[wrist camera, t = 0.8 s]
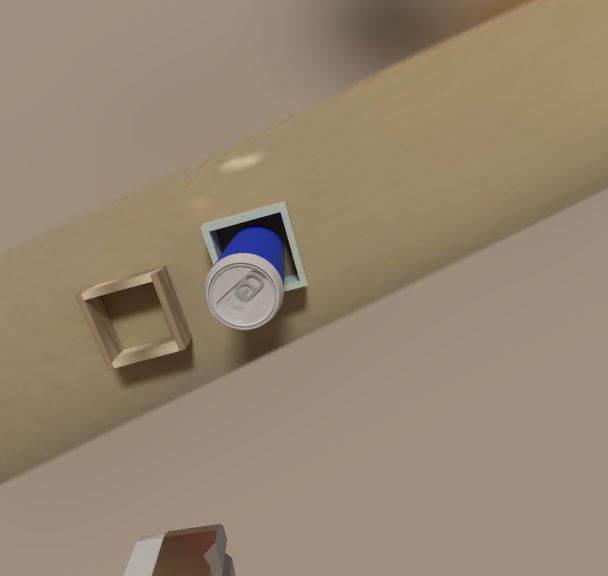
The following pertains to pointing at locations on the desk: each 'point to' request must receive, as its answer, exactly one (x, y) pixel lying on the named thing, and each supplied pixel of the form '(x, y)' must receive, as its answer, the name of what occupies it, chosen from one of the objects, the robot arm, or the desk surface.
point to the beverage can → (247, 279)
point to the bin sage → (210, 227)
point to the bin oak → (106, 332)
